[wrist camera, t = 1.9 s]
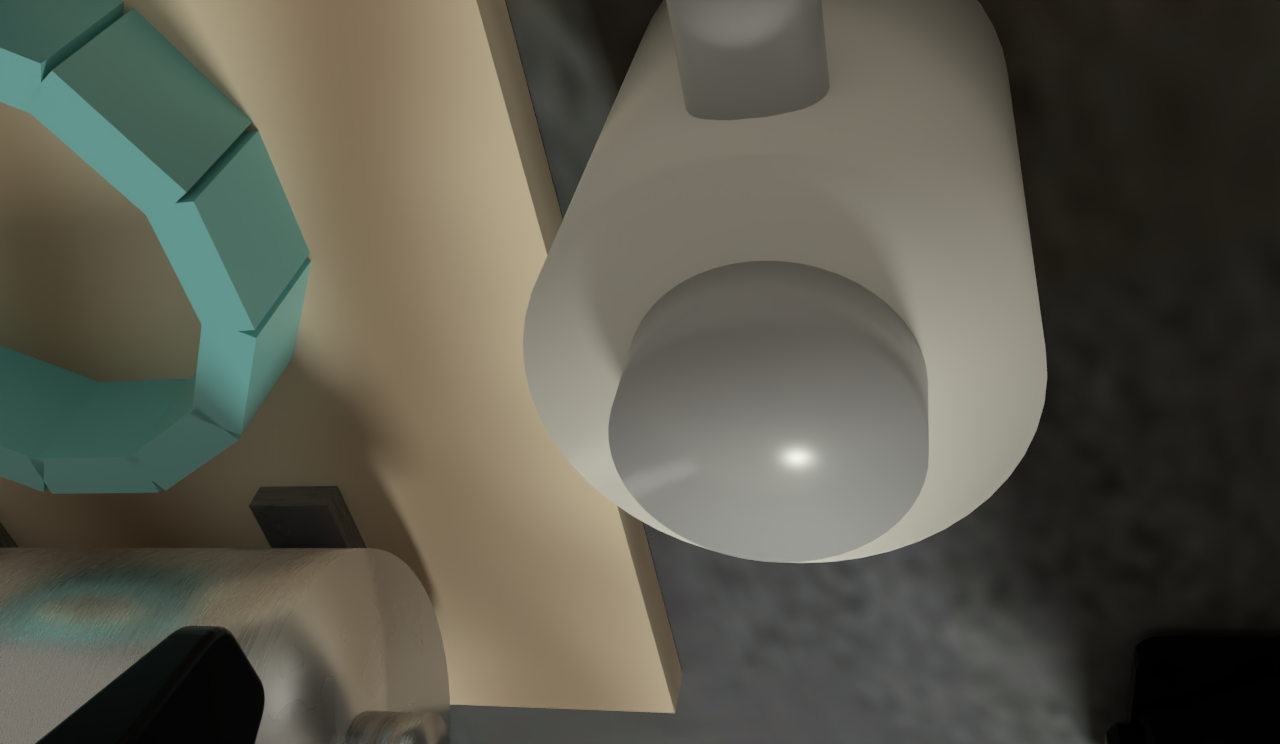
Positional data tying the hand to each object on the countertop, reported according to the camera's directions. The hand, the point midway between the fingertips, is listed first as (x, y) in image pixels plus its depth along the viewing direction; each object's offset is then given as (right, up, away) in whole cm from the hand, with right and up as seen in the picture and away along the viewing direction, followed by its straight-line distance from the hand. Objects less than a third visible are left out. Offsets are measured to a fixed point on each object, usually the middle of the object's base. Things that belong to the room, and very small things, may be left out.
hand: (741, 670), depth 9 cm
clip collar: (-10, +5, +9) cm, 15 cm away
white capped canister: (+2, +6, +7) cm, 9 cm away
